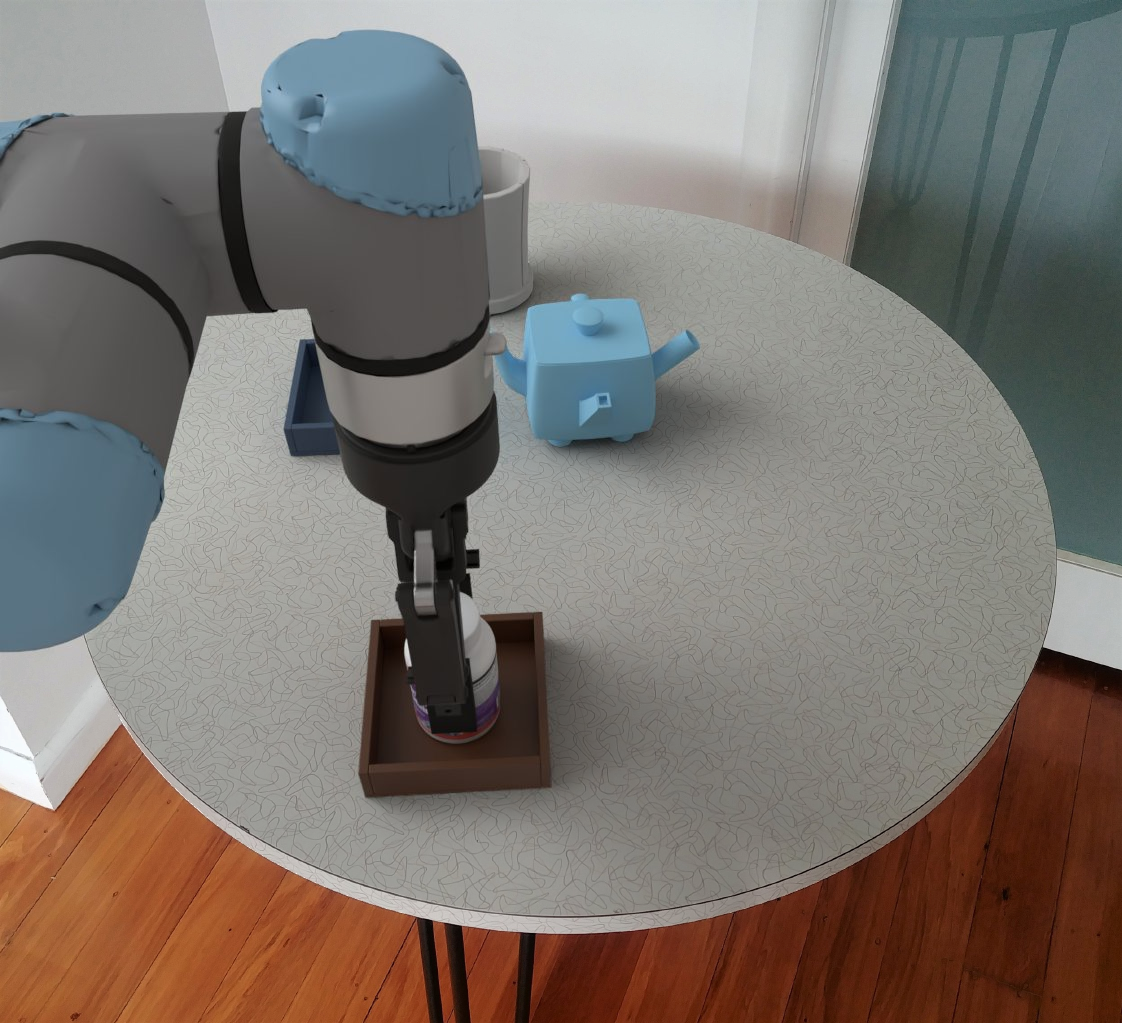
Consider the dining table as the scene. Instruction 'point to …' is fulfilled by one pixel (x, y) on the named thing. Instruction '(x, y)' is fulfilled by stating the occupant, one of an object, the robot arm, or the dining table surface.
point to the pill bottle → (482, 671)
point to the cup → (506, 227)
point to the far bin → (309, 407)
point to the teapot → (589, 369)
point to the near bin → (480, 765)
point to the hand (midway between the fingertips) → (455, 683)
